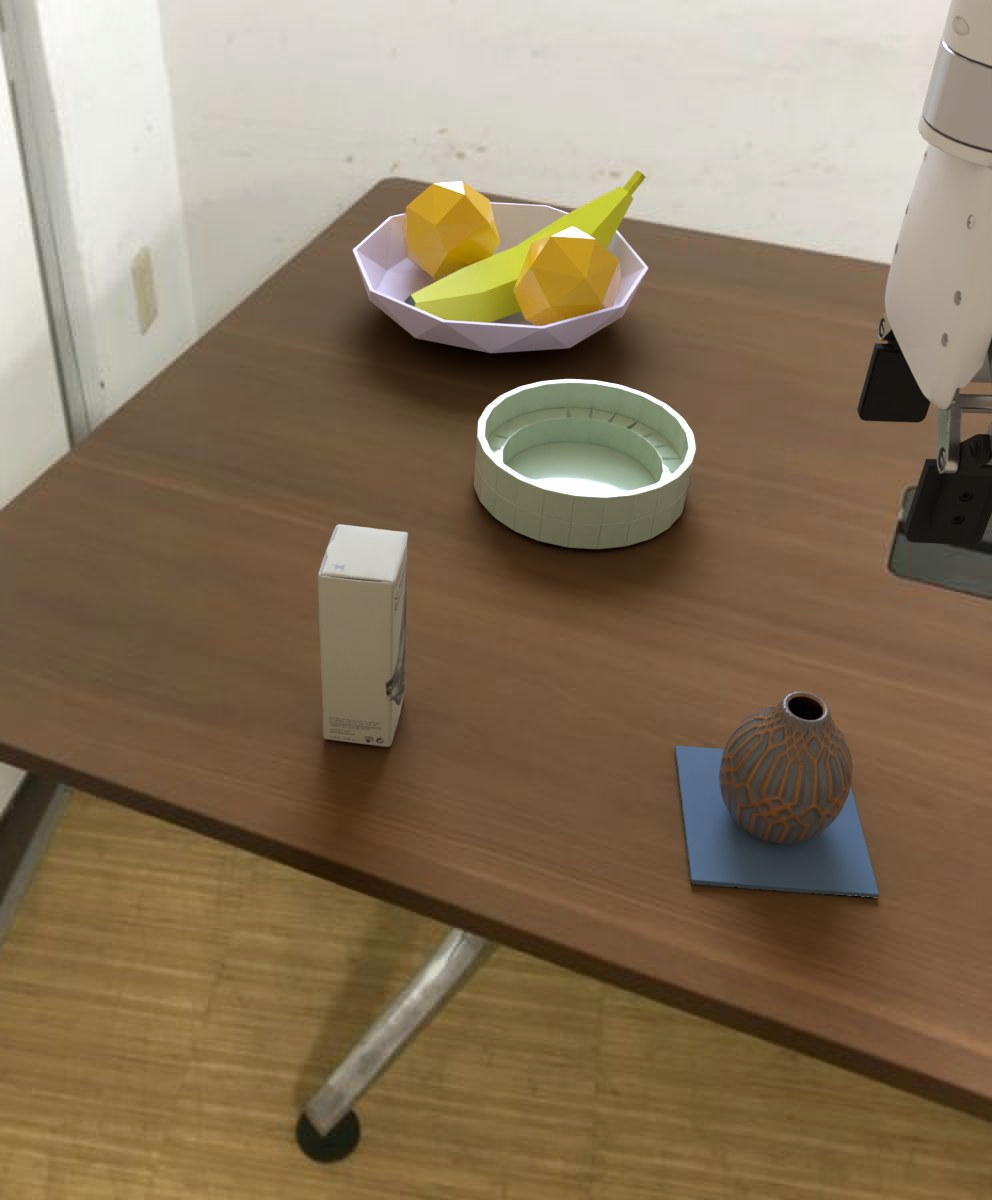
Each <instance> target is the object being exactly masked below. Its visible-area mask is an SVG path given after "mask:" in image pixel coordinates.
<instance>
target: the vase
mask: <svg viewBox="0 0 992 1200" xmlns="http://www.w3.org/2000/svg"><path fill="white" fill-rule="evenodd" d="M844 735H845V734H843V732H842V730H841V729H840V728H839V726H838V725H837V723H836V722H835V720H833V718H832V716H831V712H830V708H829V706H828V704H827V702H825V700H824V699H822V698H821V697H820V696H818V695H816V694H814V693H812V692H807V691H794V692H793V691H792V692H791V693H788V694H787V695H786V696H784V697H783V698H782V699H781V700H780V701H777V702H774V703H771V704H767V705H765V706H763V707H761V708H758V709H756V710H754V711H753V712H751V713H750V714H748V715H747V716H746V717H745V718H744V719H743V720H742V721H741V722H740V723H739V724H737V726H736V728H735V729H734V730H733V731H732V733H731V734H730V736H729V737H728V740H727V742H726V744H725V746H724V748H723V749H724V751H723V754H722V759H721V763H720V771H719V782H720V790H721V795H722V798H723V801H724V804H725V806H726V808H727V810H728V812H729V814H730V815H731V816H732V818H733V819H734V820H735V821H736V822H737V824H738V825H739V826H741V827H742V828H743V829H744V830H745V831H747V832H748V833H750V834H752V835H753V836H755V837H757V838H759V839H762V840H765V841H768V842H773V843H779V844H792V843H798V842H802V841H806V840H809V839H811V838H813V837H815V836H817V835H818V834H820V833H821V832H823V831H824V830H825V829H826V828H827V827H828V826H830V825H831V824H832V823H833V821H834V820H835V819H836V818H837V816H838V815H839V814H840V812H841V810H842V808H843V806H844V804H845V802H846V800H847V797H848V795H849V791H850V788H852V782H853V759H852V753H851V750H850V746H849V744H848V741H847V739H846V737H845V736H844Z"/></svg>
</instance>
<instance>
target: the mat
mask: <svg viewBox="0 0 992 1200" xmlns="http://www.w3.org/2000/svg"><path fill="white" fill-rule="evenodd" d="M675 751H676V757H675V760H676V759H677V765H676V768H677V767H678V773H677V777H678V776H679V782H678V785H679V784H680V790H679V793H680V792H681V798H680V801H681V800H682V807H681V813H682V812H683V815H682V821H683V820H684V823H683V831H684V830H685V832H684V838H685V837H686V840H685V846H687V848H686V856H687V855H688V856H687V863H688V862H689V865H688V872H689V881H690V880H691V881H690V884H691V883H692V884H691V885H696V886H708V885H710V887H720V888H722V887H723V888H734V887H738V888H737V889H750V890H759V889H761V891H772V890H776V891H775V892H784V893H785V892H786V893H787V892H788V893H799V894H811V893H815V894H814V895H824V894H838V895H842V894H843V895H851V896H855V895H857V896H864V897H867V896H869V897H878V898H879V895H880V893H879V889H878V884H877V881H876V878H875V873H874V869H873V866H872V862H871V858H870V854H869V850H868V846H867V842H866V839H865V835H864V831H863V827H862V823H861V820H860V817H859V812H858V807H857V804H856V800H855V797H854V792H853V789H852V787H851V788H850V791H849V795H848V797H847V800H846V802H845V804H844V806H843V808H842V810H841V812H840V814H839V815H838V816H837V818H836V819H835V820H834V821H833V823H832V824H831V825H830V826H828V827H827V828H826V829H825V830H824V831H823V832H821V833H820V834H818V835H817V836H815V837H813V838H811V839H809V840H806V841H802V842H798V843H792V844H779V843H773V842H768V841H765V840H762V839H759V838H757V837H755V836H753V835H752V834H750V833H748V832H747V831H745V830H744V829H743V828H742V827H741V826H739V825H738V824H737V822H736V821H735V820H734V819H733V818H732V816H731V815H730V814H729V812H728V810H727V808H726V806H725V804H724V801H723V798H722V795H721V790H720V782H719V771H720V763H721V759H722V754H723V751H724V748H713V747H701V746H700V747H699V746H685V745H675V746H674V752H675ZM682 809H683V811H682ZM683 818H684V819H683ZM684 828H685V829H684ZM819 893H821V894H819Z"/></svg>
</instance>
